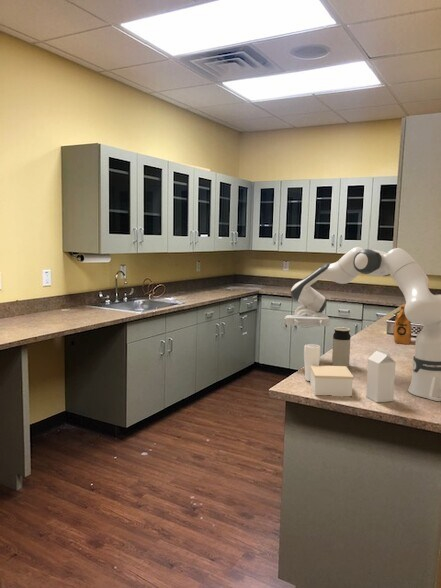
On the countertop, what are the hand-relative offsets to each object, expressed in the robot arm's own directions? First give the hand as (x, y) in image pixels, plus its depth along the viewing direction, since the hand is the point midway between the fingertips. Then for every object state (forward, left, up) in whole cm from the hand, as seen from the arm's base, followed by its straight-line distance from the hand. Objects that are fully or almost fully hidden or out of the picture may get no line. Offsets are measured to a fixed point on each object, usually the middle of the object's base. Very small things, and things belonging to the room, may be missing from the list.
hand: (308, 323), depth 209 cm
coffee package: (-63, -67, -22) cm, 95 cm away
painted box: (-6, +26, -22) cm, 35 cm away
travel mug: (-17, -11, -22) cm, 30 cm away
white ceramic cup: (0, +14, -22) cm, 26 cm away
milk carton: (-23, +35, -22) cm, 47 cm away
